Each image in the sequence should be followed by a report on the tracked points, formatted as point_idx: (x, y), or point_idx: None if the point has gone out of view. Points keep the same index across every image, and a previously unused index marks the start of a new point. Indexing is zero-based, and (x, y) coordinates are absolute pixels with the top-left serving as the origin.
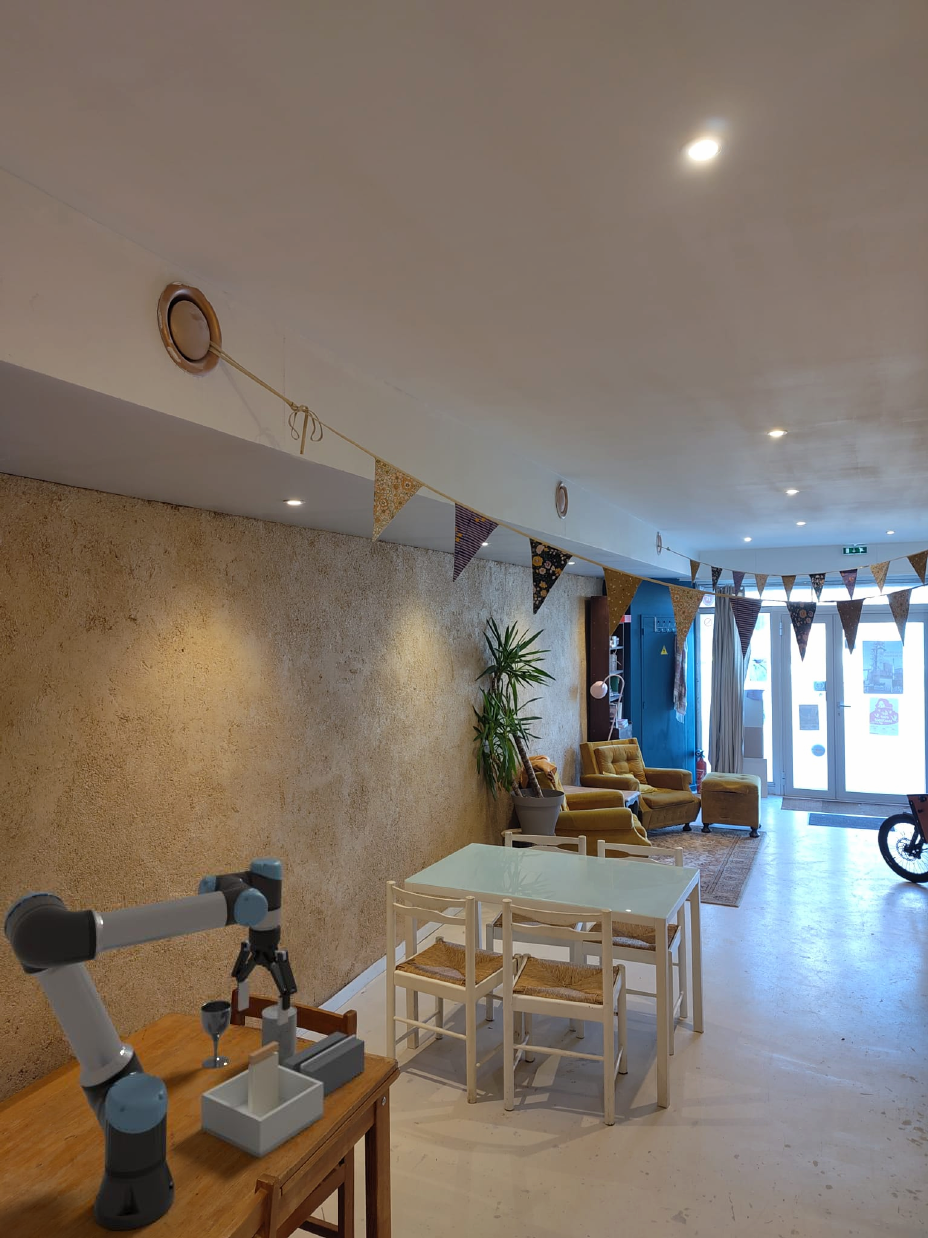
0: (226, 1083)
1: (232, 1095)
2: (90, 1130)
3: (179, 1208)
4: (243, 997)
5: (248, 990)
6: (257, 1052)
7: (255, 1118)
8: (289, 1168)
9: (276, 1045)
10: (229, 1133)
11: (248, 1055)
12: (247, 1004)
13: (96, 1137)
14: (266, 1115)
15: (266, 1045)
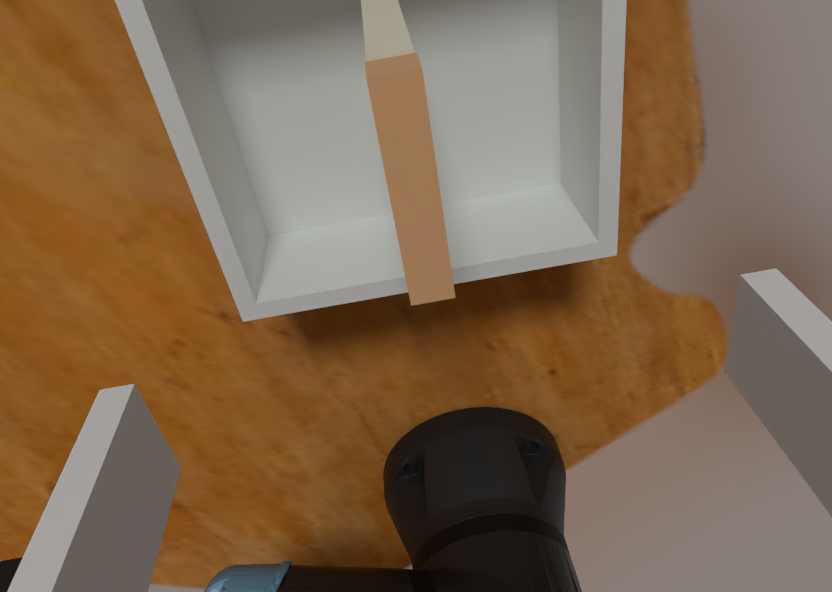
0: (218, 210)
1: (219, 144)
2: (47, 454)
3: (564, 415)
4: (131, 558)
5: (67, 567)
6: (432, 257)
7: (584, 259)
8: (700, 146)
9: (425, 91)
10: None
11: (411, 303)
12: (133, 427)
13: None
14: (606, 218)
15: (384, 161)
